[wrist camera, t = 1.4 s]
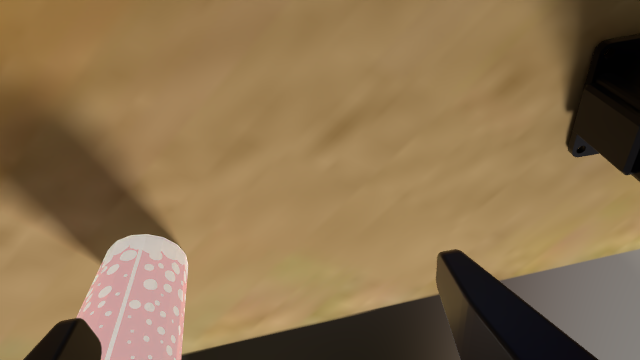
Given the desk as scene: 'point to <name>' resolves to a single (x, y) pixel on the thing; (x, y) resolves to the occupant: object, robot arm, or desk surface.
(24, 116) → the desk surface
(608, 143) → the robot arm
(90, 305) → the beverage cup
